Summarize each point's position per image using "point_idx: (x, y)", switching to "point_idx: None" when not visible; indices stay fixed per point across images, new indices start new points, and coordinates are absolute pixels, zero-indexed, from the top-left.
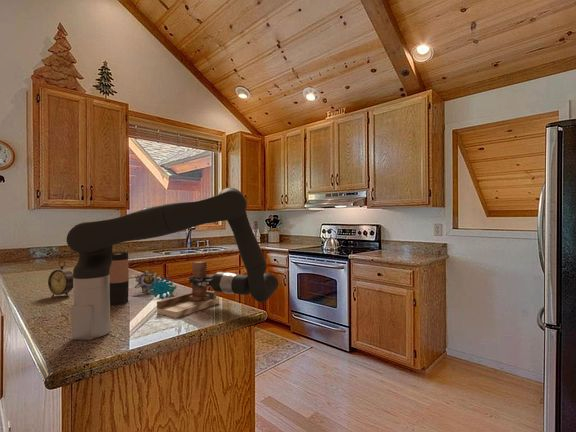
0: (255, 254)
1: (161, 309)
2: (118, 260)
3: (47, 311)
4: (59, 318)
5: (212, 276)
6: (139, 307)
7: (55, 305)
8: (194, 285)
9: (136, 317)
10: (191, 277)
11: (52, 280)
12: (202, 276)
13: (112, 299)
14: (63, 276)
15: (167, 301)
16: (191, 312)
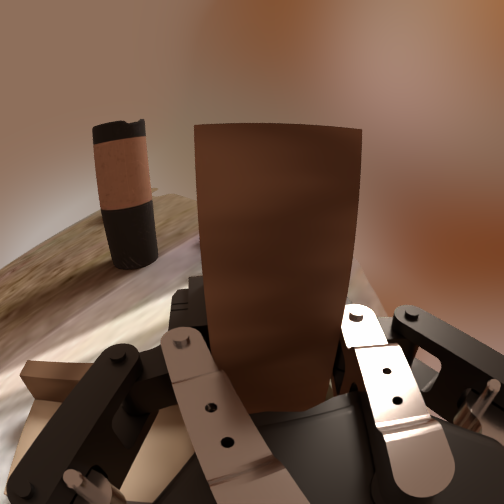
0: None
1: (32, 407)
2: (99, 143)
3: (58, 244)
4: (19, 274)
5: (375, 444)
6: (109, 311)
7: (91, 231)
8: (112, 425)
9: (14, 372)
10: (188, 290)
11: None
12: (268, 336)
13: (110, 251)
14: None
15: (58, 384)
16: None
